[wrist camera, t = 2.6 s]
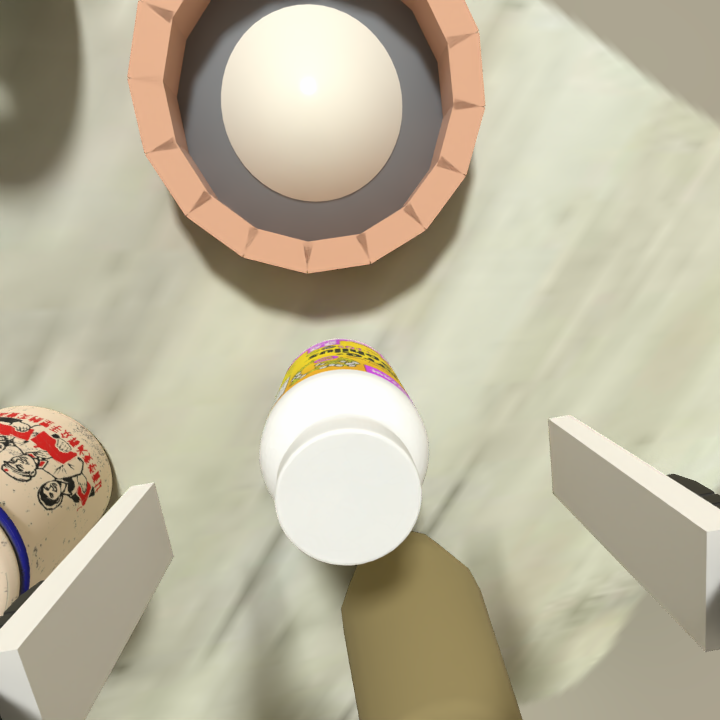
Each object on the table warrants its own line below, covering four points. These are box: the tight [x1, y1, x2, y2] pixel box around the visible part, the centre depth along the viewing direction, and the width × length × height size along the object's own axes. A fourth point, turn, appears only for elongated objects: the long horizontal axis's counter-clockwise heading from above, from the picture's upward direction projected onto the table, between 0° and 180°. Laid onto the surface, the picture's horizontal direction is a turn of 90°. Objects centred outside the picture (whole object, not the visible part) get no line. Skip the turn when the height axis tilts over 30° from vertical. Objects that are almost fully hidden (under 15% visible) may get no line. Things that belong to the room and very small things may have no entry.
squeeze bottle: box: [341, 531, 522, 720], centre depth 21 cm, size 8×8×18 cm
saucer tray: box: [127, 0, 485, 273], centre depth 22 cm, size 16×16×3 cm
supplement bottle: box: [259, 338, 429, 565], centre depth 21 cm, size 7×7×13 cm
